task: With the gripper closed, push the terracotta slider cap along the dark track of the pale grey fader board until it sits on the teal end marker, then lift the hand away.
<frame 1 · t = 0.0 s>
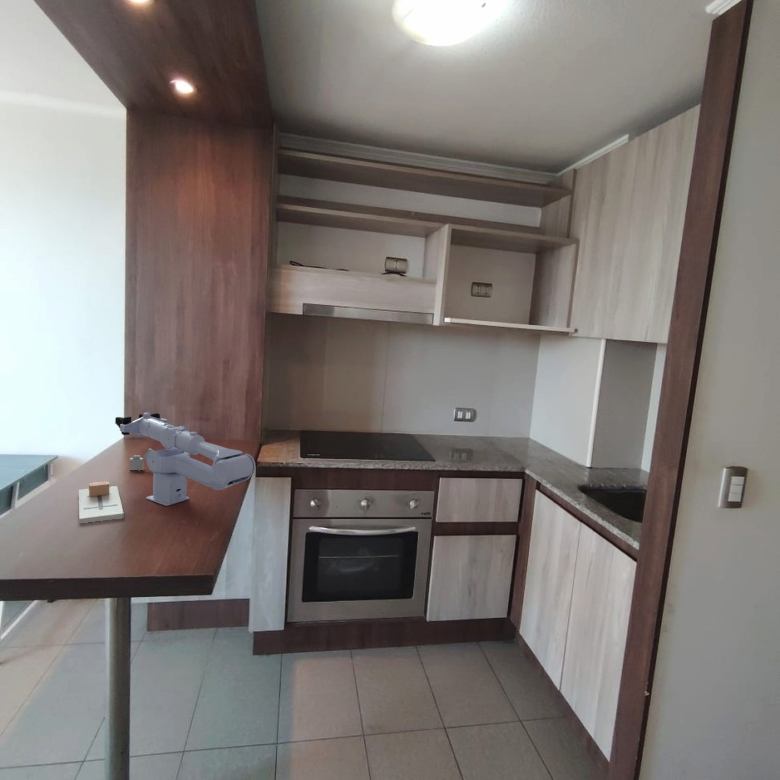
hand: (128, 418, 153), 22 cm above the table, tool horizontal, fingers open, 7 cm apart
fader board: (99, 505, 138), on the table
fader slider: (99, 488, 141), point 4 cm above the table, slide at 0.0 cm
lighter: (141, 470, 171), on the table
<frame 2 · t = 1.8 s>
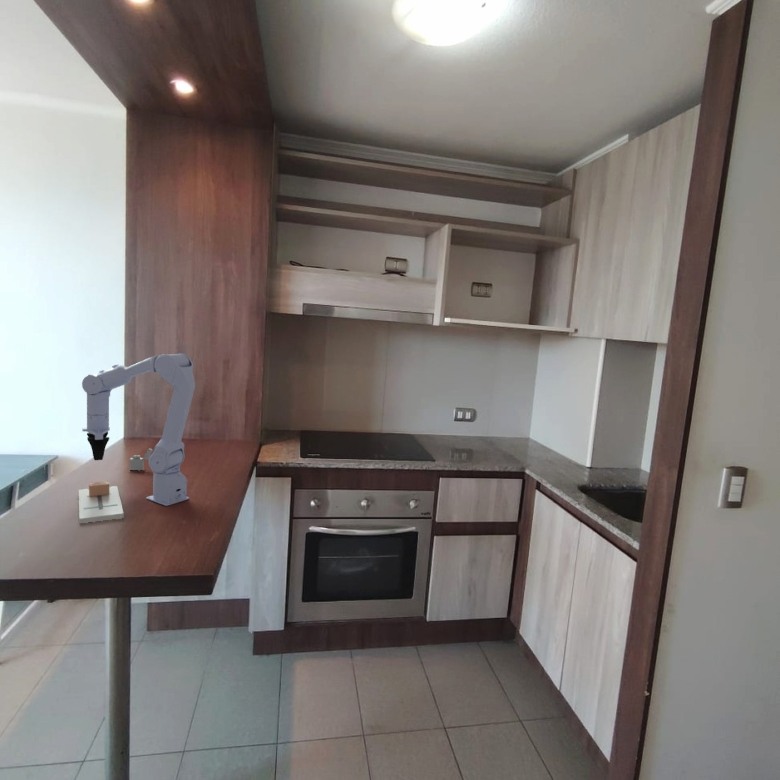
hand: (98, 457, 148), 10 cm above the table, tool pointing down, fingers open, 5 cm apart
nothing on the table moved.
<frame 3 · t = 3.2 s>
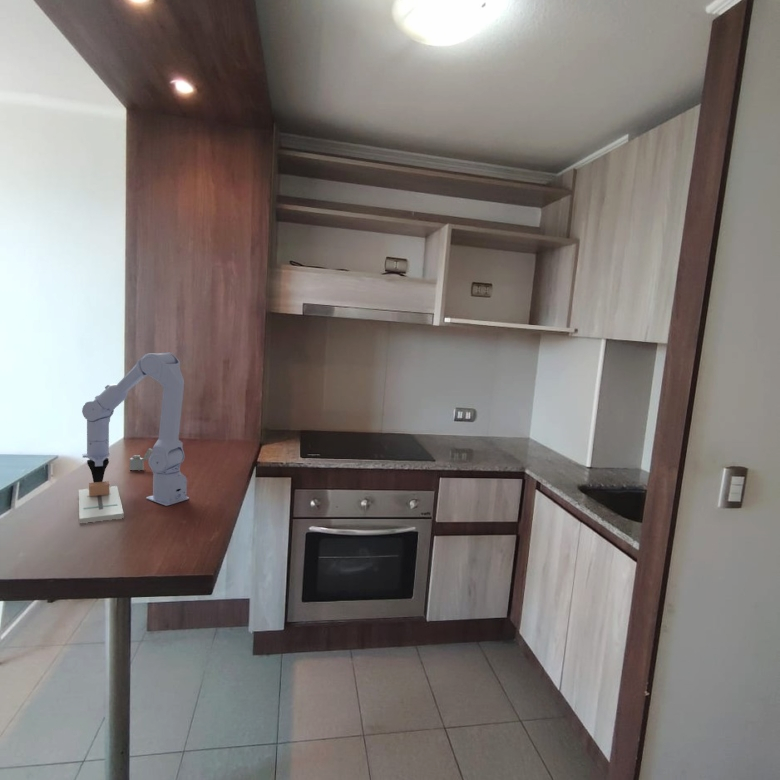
hand: (97, 482, 149), 2 cm above the table, tool pointing down, fingers closed
nothing on the table moved.
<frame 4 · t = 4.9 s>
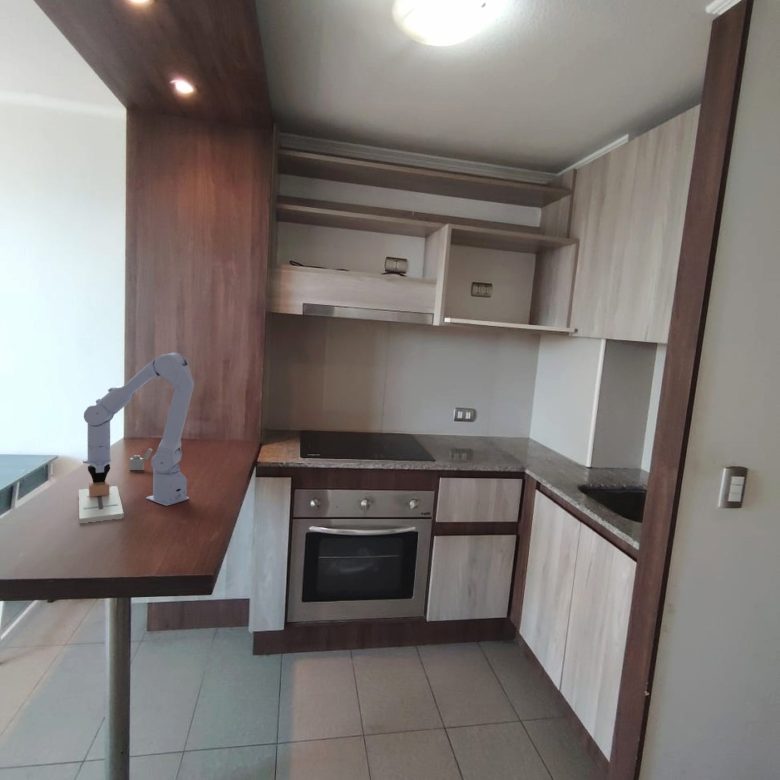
hand: (98, 489, 144), 2 cm above the table, tool pointing down, fingers closed
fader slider: (99, 488, 141), point 4 cm above the table, slide at 0.4 cm, touching gripper
everything else where it was.
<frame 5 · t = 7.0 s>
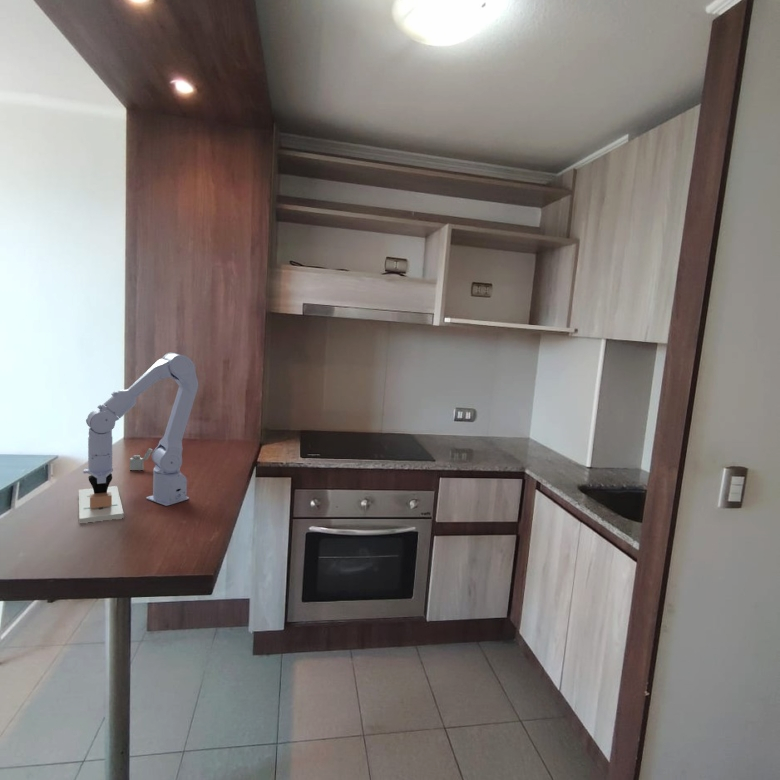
hand: (100, 500, 135), 2 cm above the table, tool pointing down, fingers closed
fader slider: (100, 500, 133), point 4 cm above the table, slide at 10.2 cm, touching gripper
everything else where it was.
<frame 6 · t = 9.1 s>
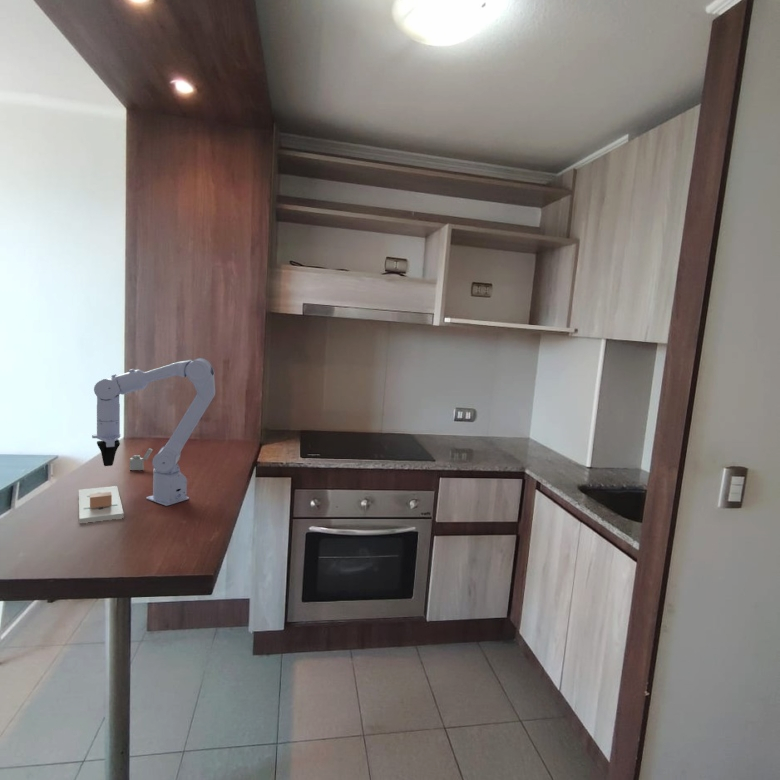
hand: (108, 465, 141), 10 cm above the table, tool pointing down, fingers closed
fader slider: (100, 499, 133), point 4 cm above the table, slide at 10.1 cm
everything else where it was.
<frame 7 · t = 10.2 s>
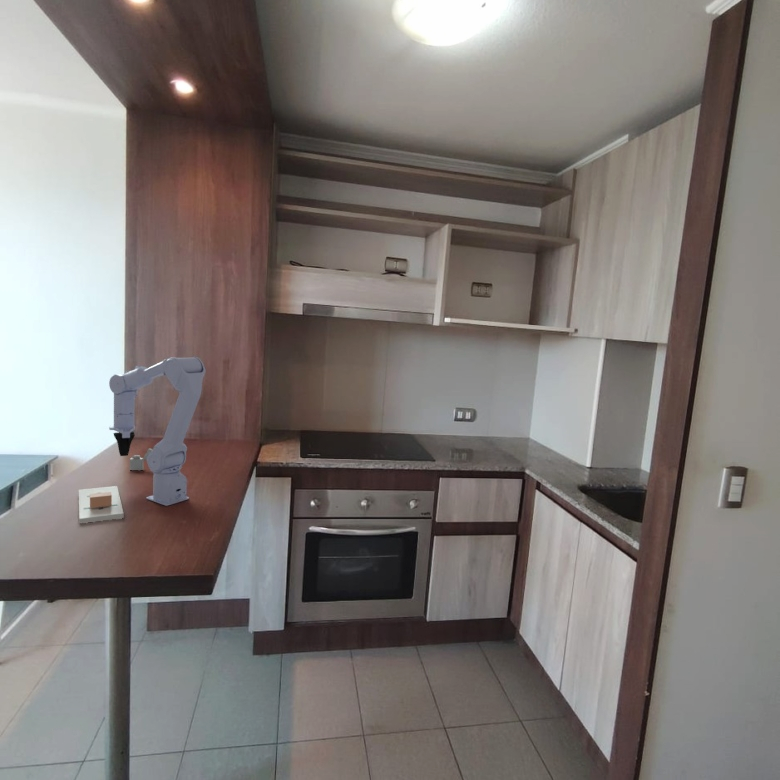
hand: (123, 455, 152), 10 cm above the table, tool pointing down, fingers closed
nothing on the table moved.
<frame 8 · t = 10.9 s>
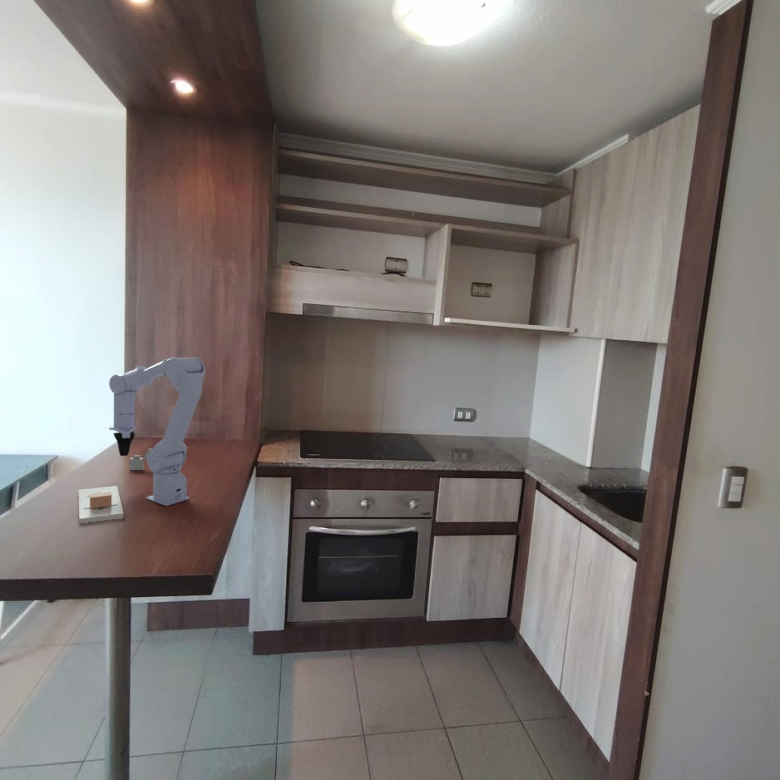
hand: (123, 455, 152), 10 cm above the table, tool pointing down, fingers closed
nothing on the table moved.
at the end: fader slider slide at 10.1 cm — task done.
